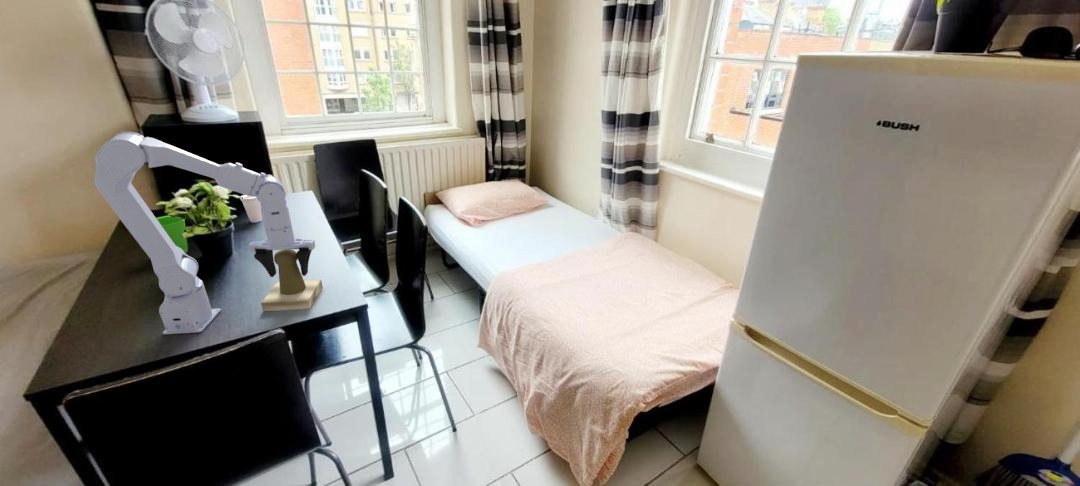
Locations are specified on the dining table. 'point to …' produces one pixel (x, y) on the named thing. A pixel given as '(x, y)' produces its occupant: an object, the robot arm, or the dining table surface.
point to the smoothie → (252, 208)
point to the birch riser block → (292, 297)
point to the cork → (289, 272)
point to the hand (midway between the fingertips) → (289, 274)
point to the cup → (174, 230)
